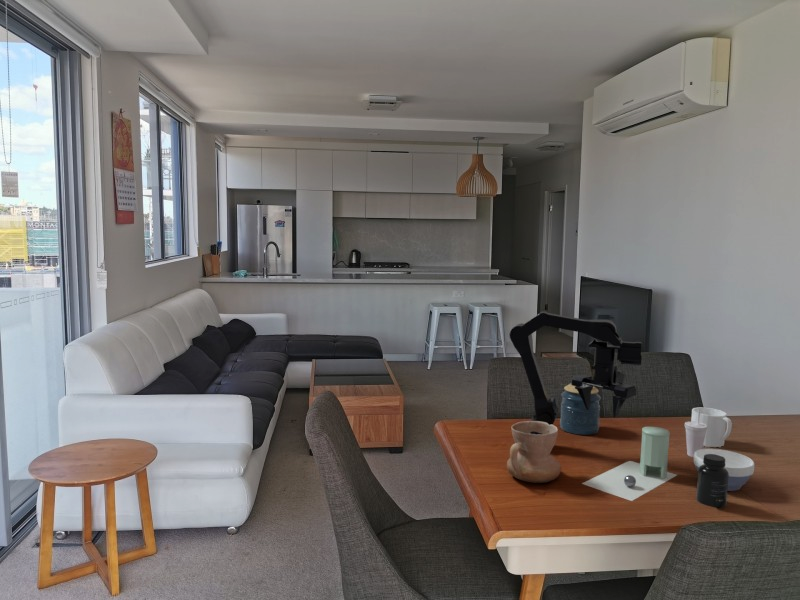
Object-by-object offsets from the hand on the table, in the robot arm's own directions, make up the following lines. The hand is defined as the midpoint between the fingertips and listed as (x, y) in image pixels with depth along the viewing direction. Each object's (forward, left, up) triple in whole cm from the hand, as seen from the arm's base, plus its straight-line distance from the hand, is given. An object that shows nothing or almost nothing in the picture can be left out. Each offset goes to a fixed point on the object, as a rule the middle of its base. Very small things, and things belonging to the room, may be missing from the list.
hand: (601, 413), depth 186 cm
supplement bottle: (+28, -24, -13) cm, 39 cm away
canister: (-8, +24, -13) cm, 28 cm away
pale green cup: (+15, -11, -12) cm, 22 cm away
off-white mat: (+9, -17, -13) cm, 23 cm away
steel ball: (+9, -22, -11) cm, 27 cm away
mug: (+33, +26, -13) cm, 44 cm away
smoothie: (+27, +12, -13) cm, 32 cm away
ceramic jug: (-16, -25, -13) cm, 33 cm away
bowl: (+32, -10, -13) cm, 36 cm away
